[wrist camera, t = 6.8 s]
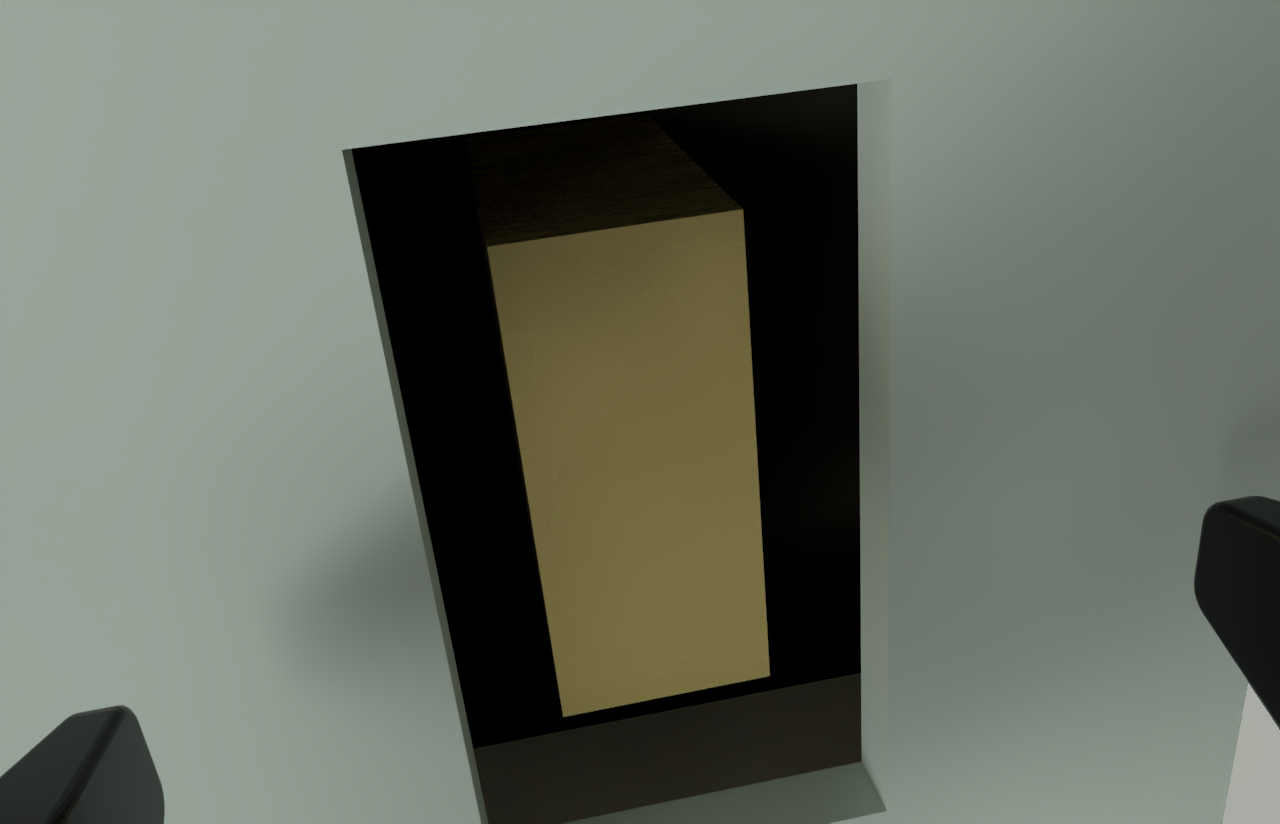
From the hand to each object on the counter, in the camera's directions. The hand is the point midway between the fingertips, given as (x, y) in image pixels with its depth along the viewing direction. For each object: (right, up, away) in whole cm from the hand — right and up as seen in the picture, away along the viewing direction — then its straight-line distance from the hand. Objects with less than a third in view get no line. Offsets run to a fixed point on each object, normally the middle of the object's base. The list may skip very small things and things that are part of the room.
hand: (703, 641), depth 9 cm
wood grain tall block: (-1, +3, +7) cm, 8 cm away
